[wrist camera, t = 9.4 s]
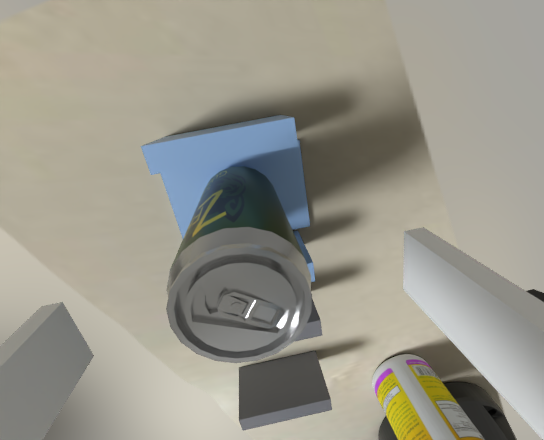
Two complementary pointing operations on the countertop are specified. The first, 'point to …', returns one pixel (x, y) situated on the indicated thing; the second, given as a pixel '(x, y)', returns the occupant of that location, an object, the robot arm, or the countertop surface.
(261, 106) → the countertop surface
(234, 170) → the beer can
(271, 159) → the blue bezel pad
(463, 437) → the supplement bottle
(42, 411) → the robot arm
